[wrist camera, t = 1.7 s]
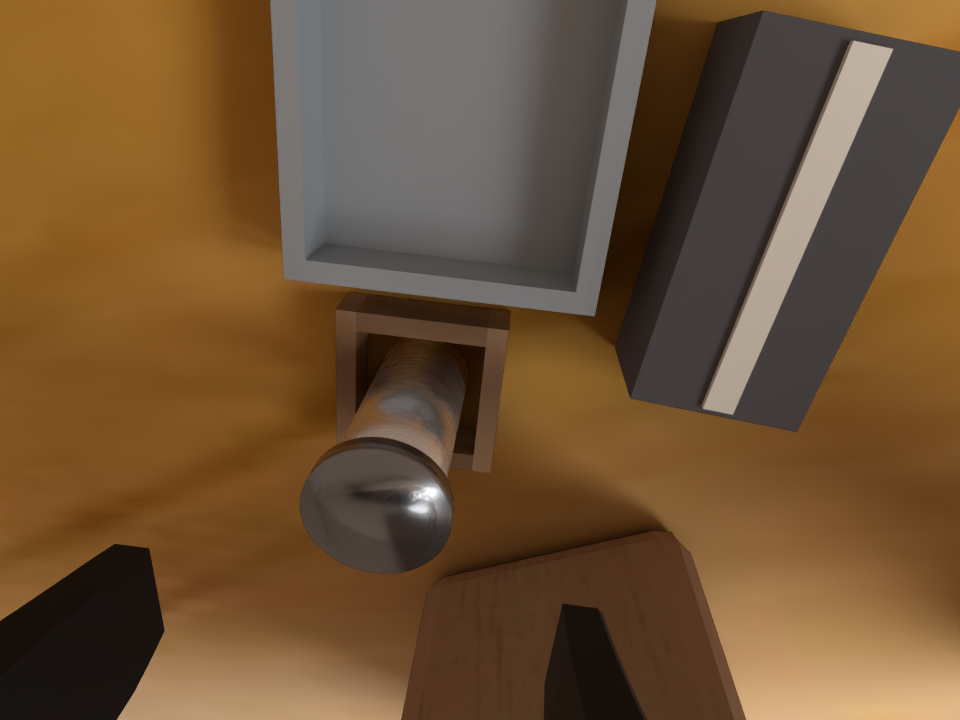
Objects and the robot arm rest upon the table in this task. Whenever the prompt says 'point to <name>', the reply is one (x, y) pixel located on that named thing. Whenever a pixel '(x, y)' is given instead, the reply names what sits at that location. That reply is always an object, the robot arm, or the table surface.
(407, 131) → the tray
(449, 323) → the collar
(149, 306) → the table surface
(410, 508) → the pin
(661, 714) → the wooden block
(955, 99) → the block
